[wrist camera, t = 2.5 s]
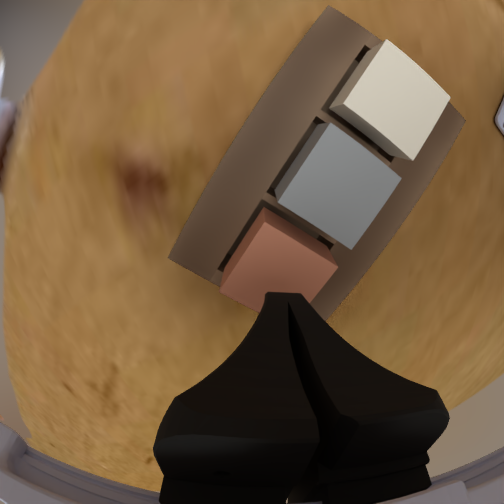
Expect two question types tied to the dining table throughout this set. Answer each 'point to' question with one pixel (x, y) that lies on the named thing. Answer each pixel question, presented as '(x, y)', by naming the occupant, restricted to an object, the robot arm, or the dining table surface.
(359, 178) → the slate key
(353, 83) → the cream key
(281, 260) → the terracotta key
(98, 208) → the dining table surface
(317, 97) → the key block
